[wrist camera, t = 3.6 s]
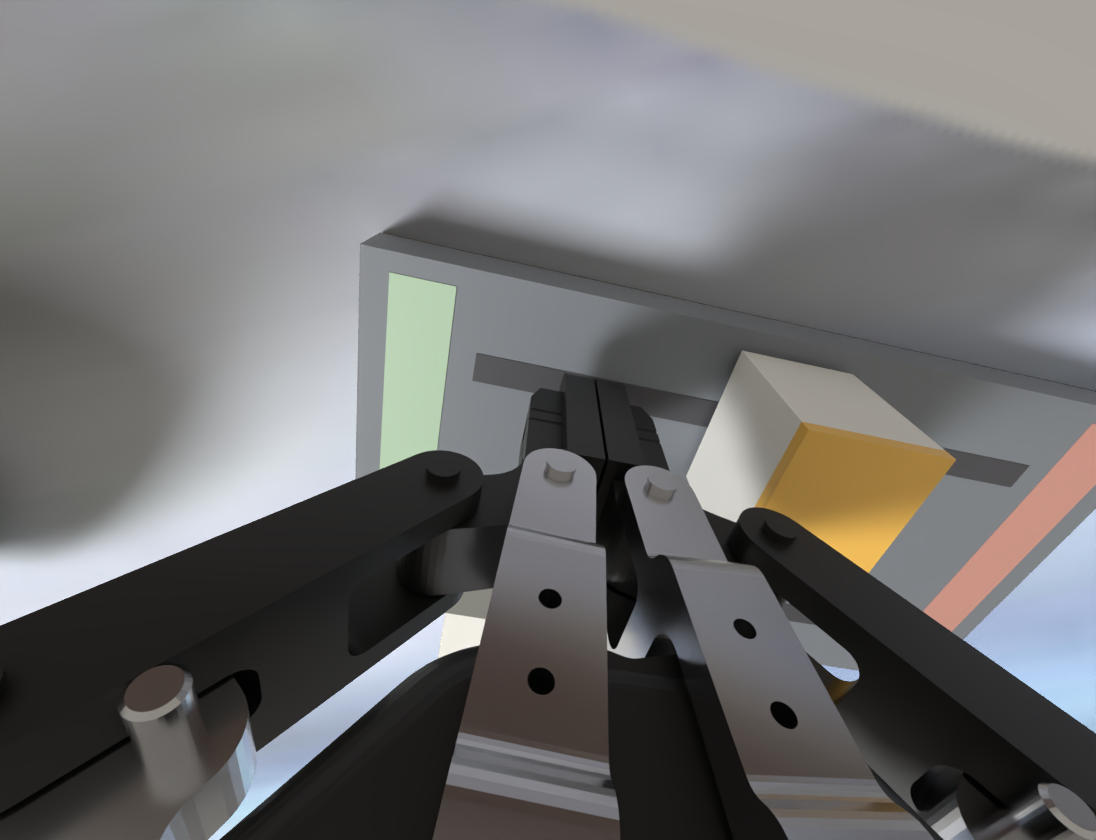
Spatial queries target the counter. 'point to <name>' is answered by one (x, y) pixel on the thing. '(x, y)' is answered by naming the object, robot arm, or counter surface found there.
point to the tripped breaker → (815, 455)
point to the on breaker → (465, 622)
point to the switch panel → (715, 406)
